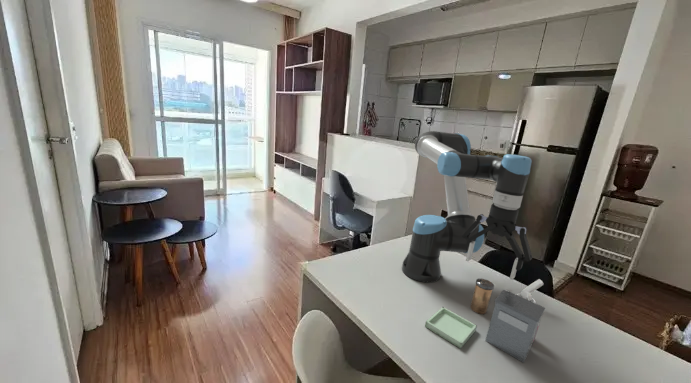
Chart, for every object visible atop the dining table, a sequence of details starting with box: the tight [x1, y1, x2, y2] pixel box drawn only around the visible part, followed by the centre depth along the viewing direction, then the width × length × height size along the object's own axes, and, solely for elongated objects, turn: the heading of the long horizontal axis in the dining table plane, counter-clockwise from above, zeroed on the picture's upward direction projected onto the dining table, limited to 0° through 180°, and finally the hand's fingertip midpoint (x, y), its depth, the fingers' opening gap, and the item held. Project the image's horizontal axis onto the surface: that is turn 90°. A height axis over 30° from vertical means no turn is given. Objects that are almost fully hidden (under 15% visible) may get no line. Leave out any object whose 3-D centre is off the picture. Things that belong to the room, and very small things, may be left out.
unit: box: [484, 289, 546, 364], centre depth 82 cm, size 11×8×14 cm
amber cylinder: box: [470, 278, 495, 315], centre depth 97 cm, size 5×5×10 cm
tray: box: [424, 306, 478, 350], centre depth 88 cm, size 11×11×2 cm
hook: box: [515, 278, 545, 304], centre depth 104 cm, size 8×12×7 cm
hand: (489, 268), depth 95 cm, fingers open, 13 cm apart
